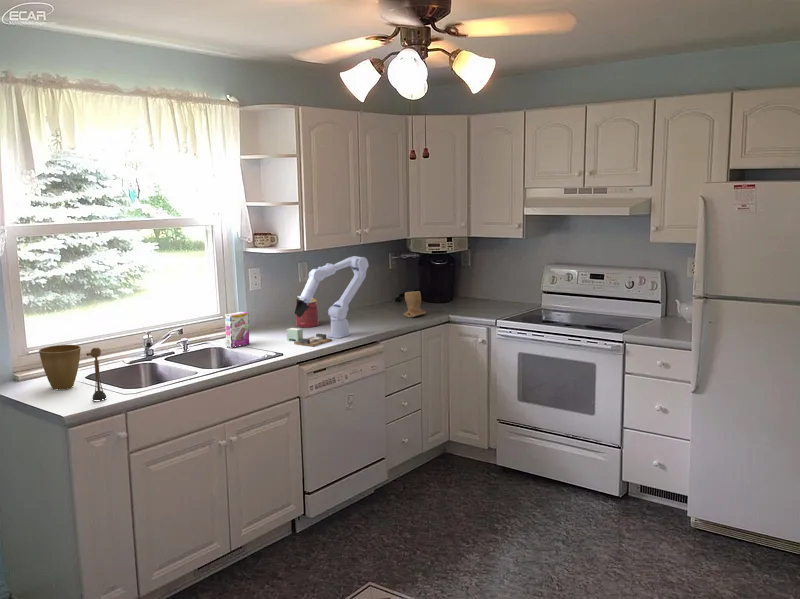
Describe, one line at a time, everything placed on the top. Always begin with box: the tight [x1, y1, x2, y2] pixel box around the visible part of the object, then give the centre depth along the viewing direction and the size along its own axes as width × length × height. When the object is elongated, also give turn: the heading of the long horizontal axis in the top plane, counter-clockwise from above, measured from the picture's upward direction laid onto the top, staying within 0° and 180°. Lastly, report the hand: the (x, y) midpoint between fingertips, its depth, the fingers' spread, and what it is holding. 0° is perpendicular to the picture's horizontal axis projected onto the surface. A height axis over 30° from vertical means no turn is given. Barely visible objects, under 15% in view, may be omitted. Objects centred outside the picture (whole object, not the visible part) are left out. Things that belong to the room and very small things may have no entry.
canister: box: [294, 297, 320, 328], centre depth 401 cm, size 13×13×18 cm
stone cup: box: [403, 290, 426, 318], centre depth 426 cm, size 15×12×15 cm
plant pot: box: [38, 344, 82, 391], centre depth 282 cm, size 15×15×16 cm
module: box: [286, 327, 304, 342], centre depth 363 cm, size 4×7×6 cm, turn 58°
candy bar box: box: [224, 311, 250, 349], centre depth 352 cm, size 11×5×16 cm, turn 141°
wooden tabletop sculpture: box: [86, 346, 107, 401], centre depth 264 cm, size 6×5×20 cm
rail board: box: [293, 333, 333, 347], centre depth 358 cm, size 15×12×3 cm
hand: (297, 315), depth 357 cm, fingers open, 7 cm apart
